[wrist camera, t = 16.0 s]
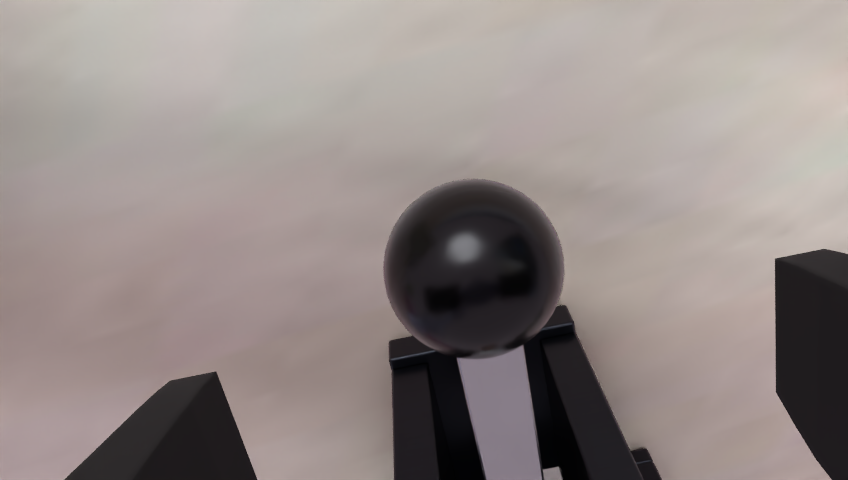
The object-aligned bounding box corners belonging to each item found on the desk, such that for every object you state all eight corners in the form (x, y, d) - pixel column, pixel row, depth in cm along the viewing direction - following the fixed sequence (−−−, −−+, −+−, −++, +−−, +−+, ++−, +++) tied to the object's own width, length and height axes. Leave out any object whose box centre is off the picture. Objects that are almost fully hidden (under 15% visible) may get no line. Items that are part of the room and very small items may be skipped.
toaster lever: (363, 167, 12) (366, 268, 10) (533, 131, 12) (577, 225, 10) (467, 551, 18) (484, 670, 16) (581, 529, 18) (615, 645, 16)
